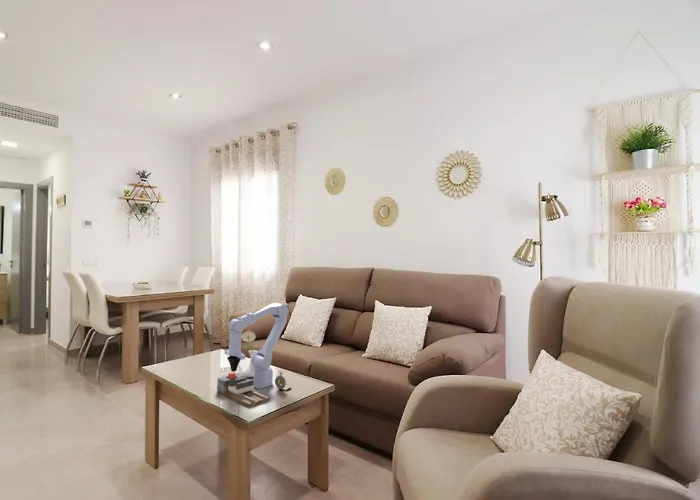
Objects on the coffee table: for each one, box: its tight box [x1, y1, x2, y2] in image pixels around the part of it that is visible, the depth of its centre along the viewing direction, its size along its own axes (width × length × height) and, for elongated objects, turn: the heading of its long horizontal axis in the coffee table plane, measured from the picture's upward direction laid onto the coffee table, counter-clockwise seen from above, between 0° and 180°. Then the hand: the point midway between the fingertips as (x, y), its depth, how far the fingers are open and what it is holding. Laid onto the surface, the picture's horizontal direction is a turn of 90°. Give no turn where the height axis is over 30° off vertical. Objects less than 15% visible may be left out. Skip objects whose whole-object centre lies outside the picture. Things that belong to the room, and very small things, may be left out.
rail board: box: [216, 372, 271, 408], centre depth 182 cm, size 12×26×7 cm, turn 51°
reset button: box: [227, 371, 237, 379], centre depth 188 cm, size 4×4×4 cm
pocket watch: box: [274, 370, 290, 390], centre depth 194 cm, size 8×8×10 cm
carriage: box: [228, 376, 255, 394], centre depth 183 cm, size 9×8×4 cm
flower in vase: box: [241, 330, 258, 378], centre depth 213 cm, size 13×11×25 cm
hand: (233, 371), depth 187 cm, fingers closed
